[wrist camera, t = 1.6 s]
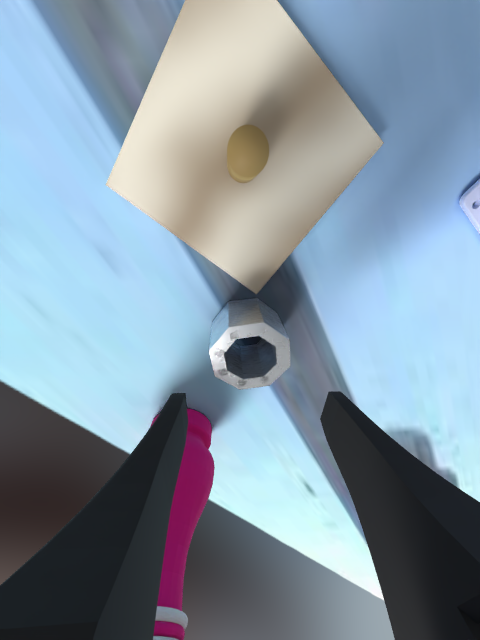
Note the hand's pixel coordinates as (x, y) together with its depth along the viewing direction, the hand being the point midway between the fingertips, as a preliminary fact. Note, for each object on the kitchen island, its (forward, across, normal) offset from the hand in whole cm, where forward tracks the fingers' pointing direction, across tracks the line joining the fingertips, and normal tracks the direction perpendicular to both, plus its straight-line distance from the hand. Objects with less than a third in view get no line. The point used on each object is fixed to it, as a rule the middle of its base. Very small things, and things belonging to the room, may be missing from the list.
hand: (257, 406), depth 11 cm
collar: (+8, 0, 0) cm, 8 cm away
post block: (+8, +1, -11) cm, 14 cm away
